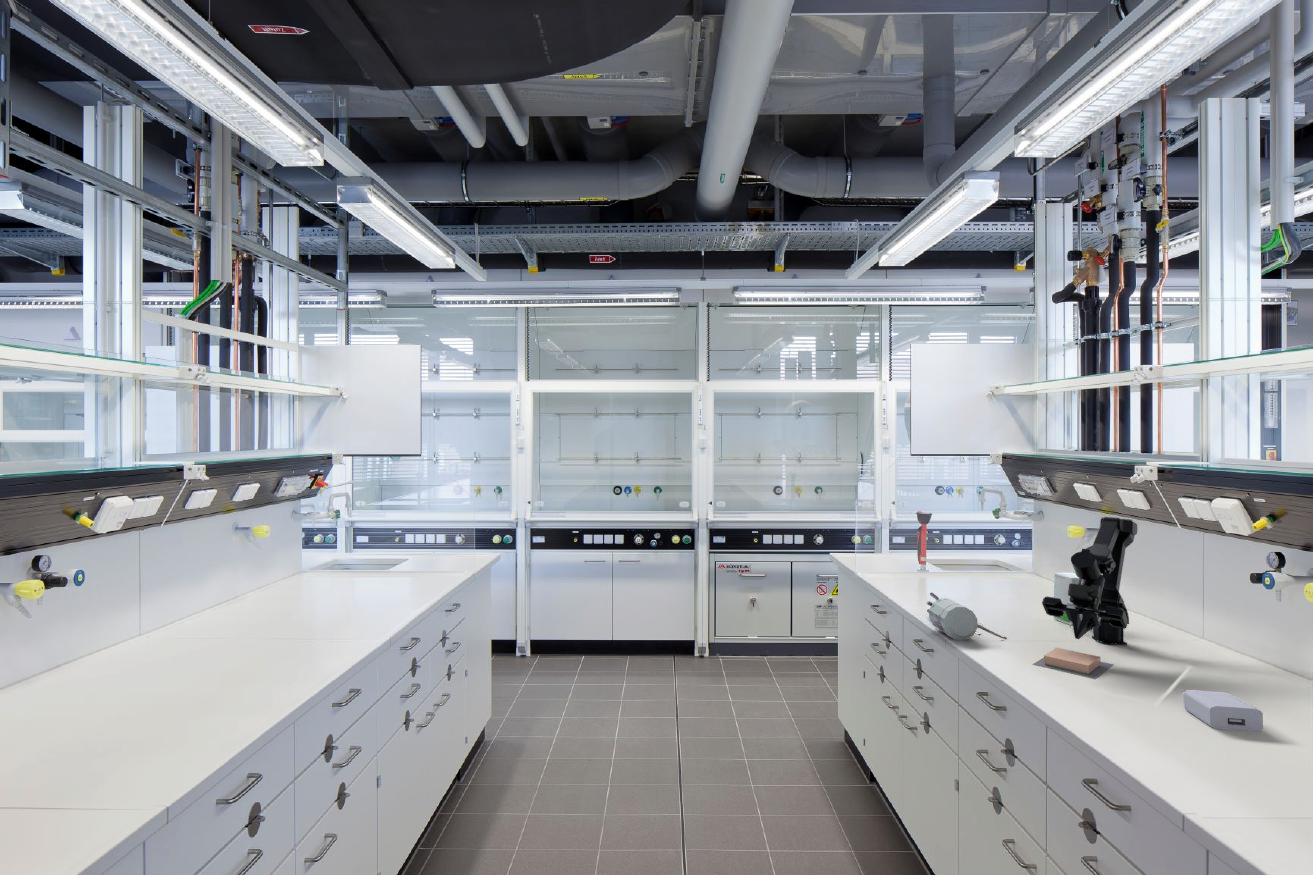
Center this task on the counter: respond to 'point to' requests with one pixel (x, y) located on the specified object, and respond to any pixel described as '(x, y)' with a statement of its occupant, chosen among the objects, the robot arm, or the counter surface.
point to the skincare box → (1064, 591)
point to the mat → (1092, 674)
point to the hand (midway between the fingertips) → (1076, 637)
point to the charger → (1223, 710)
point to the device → (952, 618)
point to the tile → (1072, 660)
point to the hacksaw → (990, 632)
